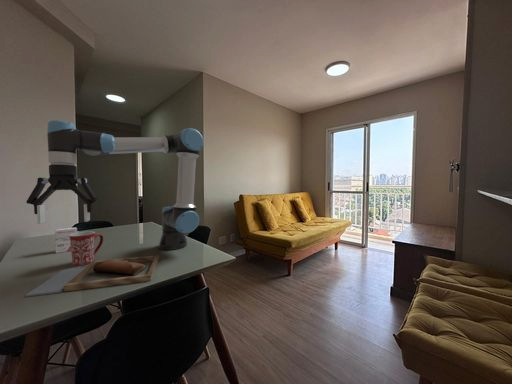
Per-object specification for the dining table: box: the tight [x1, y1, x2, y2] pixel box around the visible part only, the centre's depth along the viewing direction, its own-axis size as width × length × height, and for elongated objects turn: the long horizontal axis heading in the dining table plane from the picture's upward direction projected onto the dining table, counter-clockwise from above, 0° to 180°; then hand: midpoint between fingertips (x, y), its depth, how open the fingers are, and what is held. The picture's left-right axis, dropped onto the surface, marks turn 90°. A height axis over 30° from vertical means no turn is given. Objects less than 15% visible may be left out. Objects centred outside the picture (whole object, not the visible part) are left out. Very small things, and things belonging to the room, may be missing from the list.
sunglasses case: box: [93, 259, 147, 276], centre depth 84 cm, size 18×7×7 cm
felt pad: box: [25, 267, 86, 298], centre depth 75 cm, size 9×20×1 cm, turn 18°
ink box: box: [54, 227, 78, 254], centre depth 109 cm, size 8×5×12 cm, turn 133°
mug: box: [69, 230, 104, 267], centre depth 94 cm, size 13×9×14 cm
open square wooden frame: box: [63, 254, 160, 293], centre depth 83 cm, size 26×23×2 cm
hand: (65, 222), depth 76 cm, fingers open, 13 cm apart
